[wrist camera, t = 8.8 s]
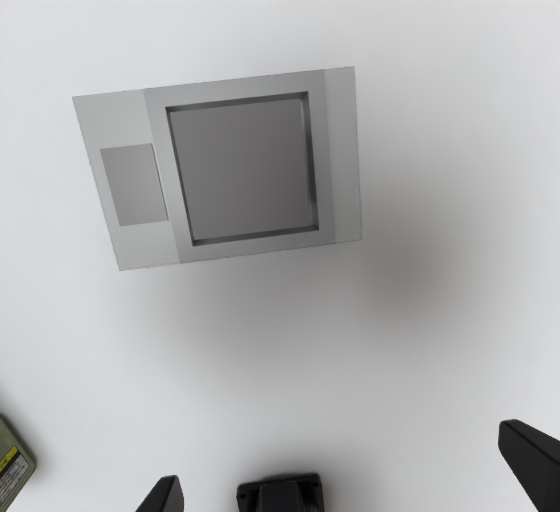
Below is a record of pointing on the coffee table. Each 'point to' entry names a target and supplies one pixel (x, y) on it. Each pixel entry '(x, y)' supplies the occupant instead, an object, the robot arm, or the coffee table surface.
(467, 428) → the coffee table surface
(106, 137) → the grey charging dock
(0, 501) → the handheld radio
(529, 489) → the robot arm
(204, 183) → the block
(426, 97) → the coffee table surface
